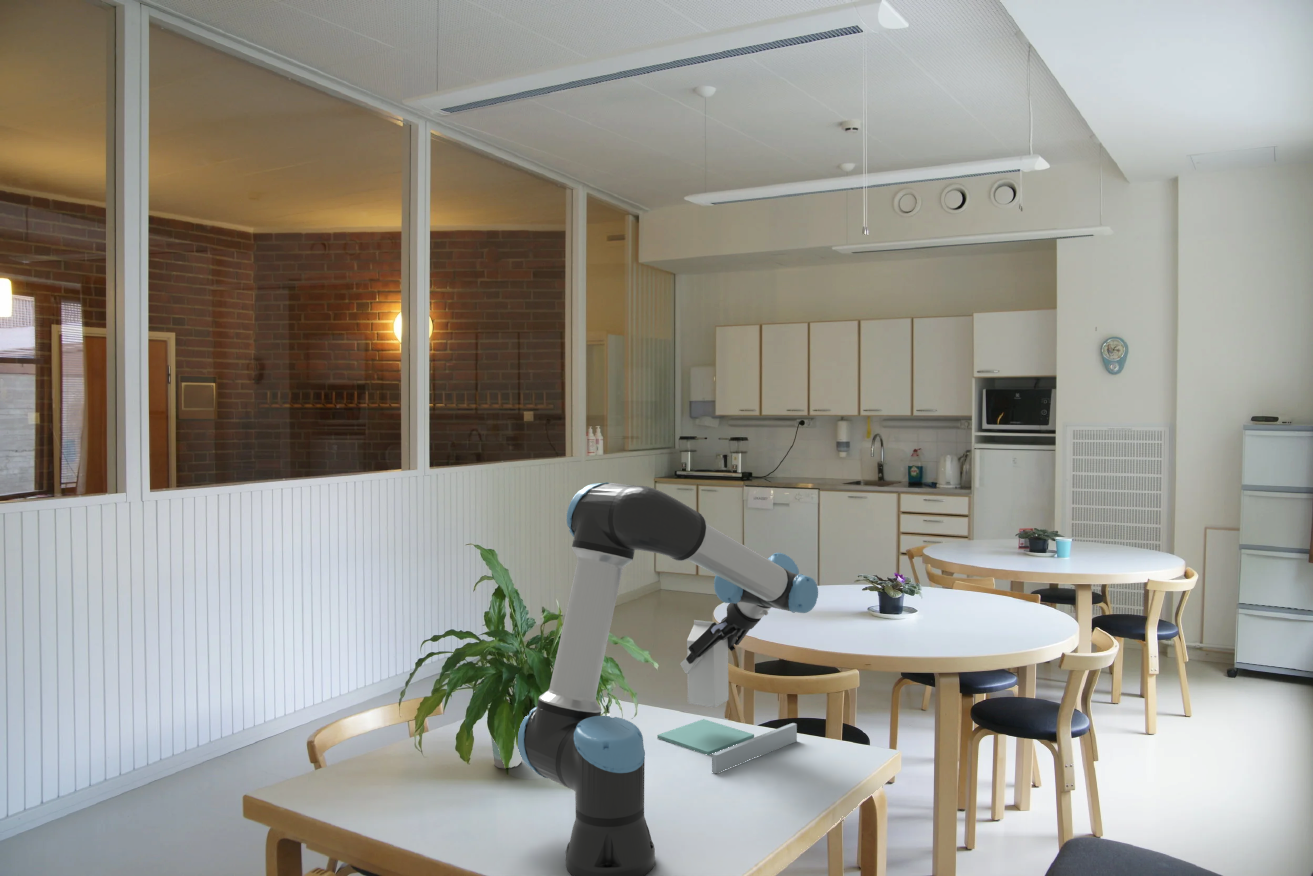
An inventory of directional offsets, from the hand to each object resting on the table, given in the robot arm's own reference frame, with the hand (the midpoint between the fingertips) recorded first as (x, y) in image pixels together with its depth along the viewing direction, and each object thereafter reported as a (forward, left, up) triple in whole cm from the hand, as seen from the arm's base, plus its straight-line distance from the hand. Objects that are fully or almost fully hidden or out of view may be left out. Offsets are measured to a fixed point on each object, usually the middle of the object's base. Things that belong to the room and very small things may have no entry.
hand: (697, 664), depth 225 cm
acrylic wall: (-2, -19, -16) cm, 25 cm away
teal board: (-1, -3, -16) cm, 17 cm away
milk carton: (0, -3, -8) cm, 9 cm away
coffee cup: (-43, +17, -17) cm, 49 cm away
